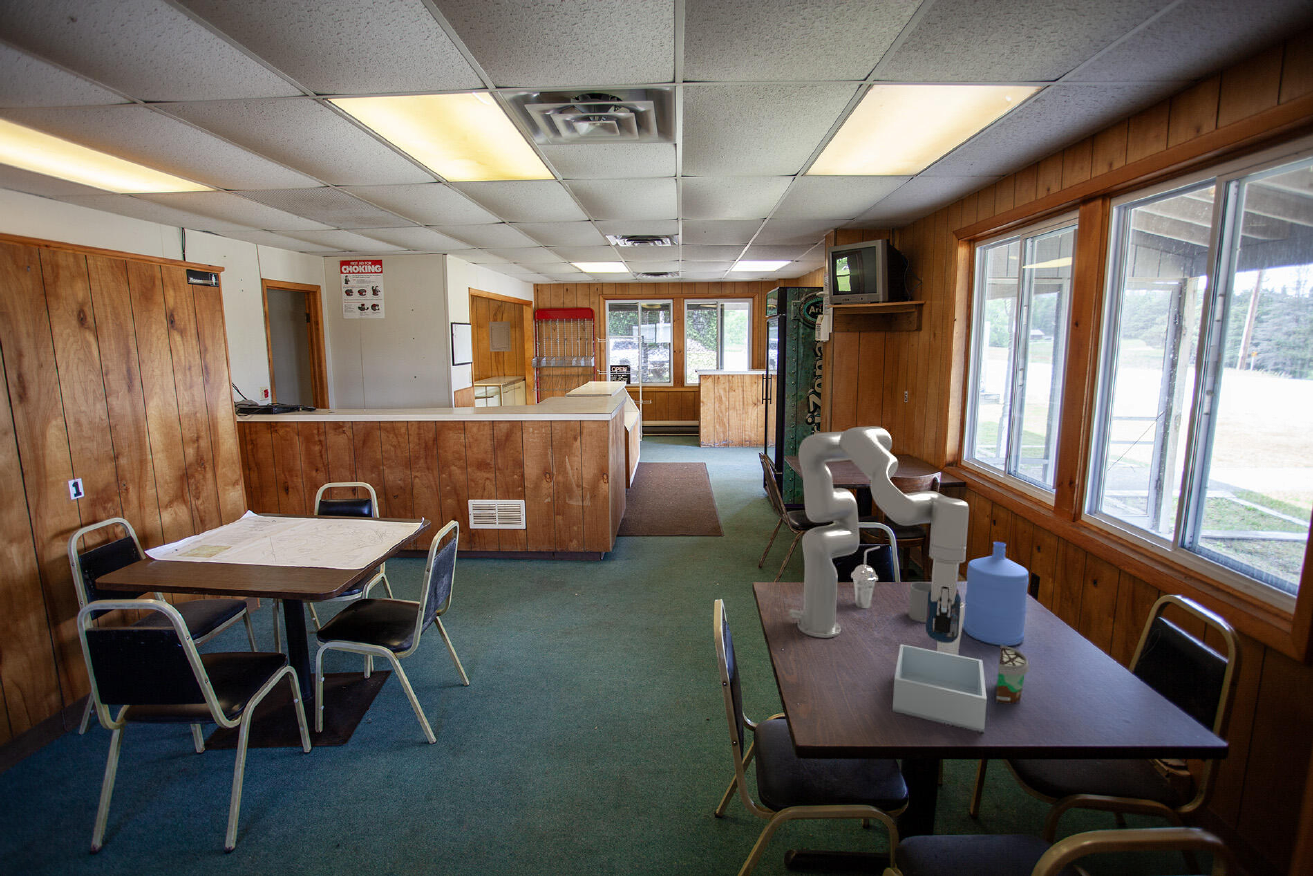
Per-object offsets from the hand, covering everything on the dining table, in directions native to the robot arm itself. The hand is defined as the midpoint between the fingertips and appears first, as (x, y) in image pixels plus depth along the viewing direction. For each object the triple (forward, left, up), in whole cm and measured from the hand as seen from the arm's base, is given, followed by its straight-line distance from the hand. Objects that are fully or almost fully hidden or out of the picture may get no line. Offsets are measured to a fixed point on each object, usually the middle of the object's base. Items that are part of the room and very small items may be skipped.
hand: (942, 624), depth 138 cm
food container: (+16, +10, -19) cm, 27 cm away
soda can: (0, 0, -3) cm, 3 cm away
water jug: (+14, +45, -19) cm, 51 cm away
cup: (-5, +49, -19) cm, 53 cm away
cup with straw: (-23, +50, -19) cm, 58 cm away
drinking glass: (+2, +26, -19) cm, 32 cm away
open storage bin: (0, 0, -19) cm, 19 cm away
